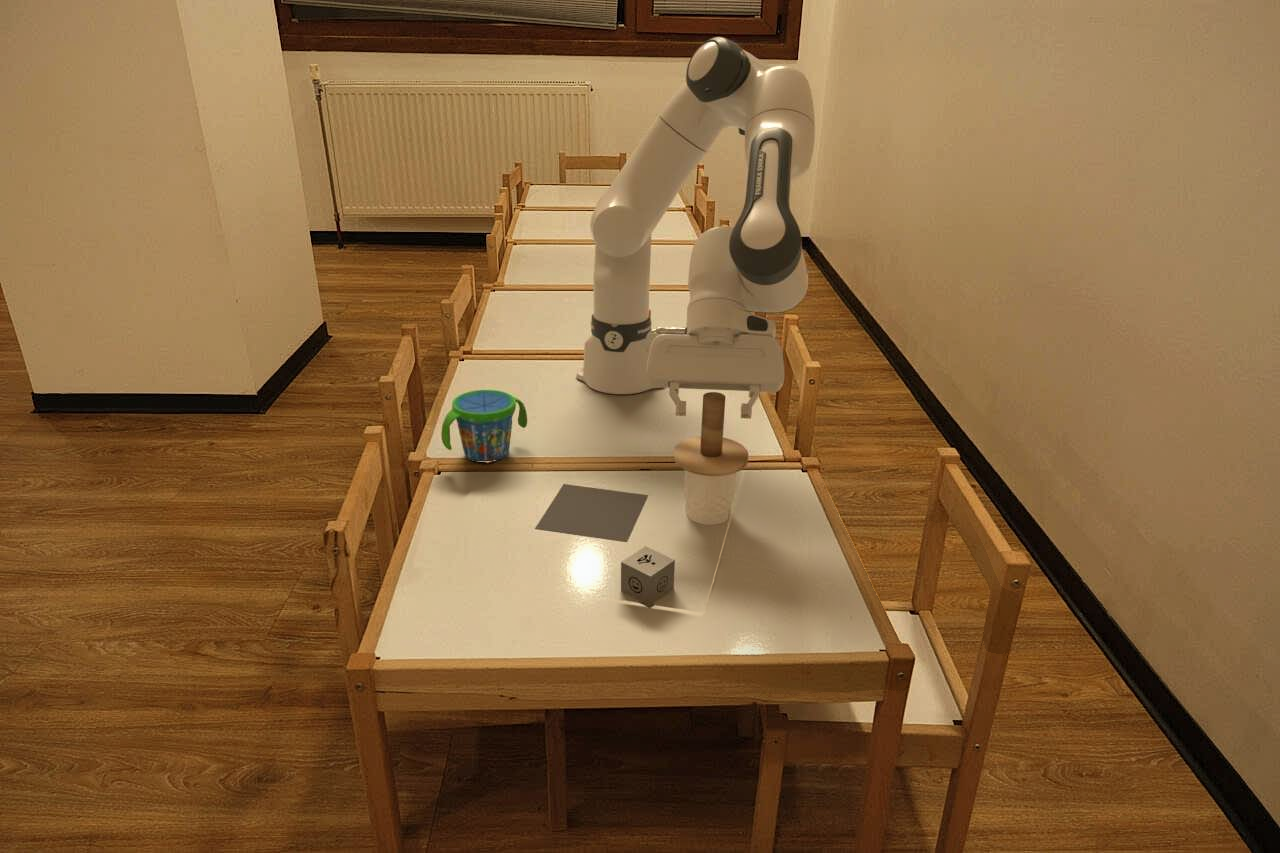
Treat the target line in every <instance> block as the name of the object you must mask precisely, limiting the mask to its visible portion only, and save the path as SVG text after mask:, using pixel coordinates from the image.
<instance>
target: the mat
mask: <svg viewBox="0 0 1280 853" xmlns="http://www.w3.org/2000/svg"><path fill="white" fill-rule="evenodd" d="M648 497H649V495H648V494H643V493H642V494H641V493H635V492H634V493H633V492H627V491H619V490H612V489H605V488H604V489H603V488H597V487H590V486H581V485H575V484H574V485H573V484H568V483H563V484H562V486H561V487H560V489H559V491H558V492H557V494H556V495H555V497H554V498H553V499H552V501H551V503H550V504H549V506H548V507H547V509H546V511H545V512H544V514H543V516H542V517H541V518H540V520H539V521H538V523H537V525H536V526H535V528H534V529H535V530H540V531H546V532H547V531H548V532H555V533H562V534H568V535H576V536H582V537H588V538H589V537H590V538H596V539H603V540H609V541H617V542H623V543H628V541H629V538H630V536H631V534H632V532H633V530H634V528H635V525H636V523H637V521H638V518H639V516H640V514H641V512H642V510H643V508H644V505H645V503H646V501H647V499H648Z"/></svg>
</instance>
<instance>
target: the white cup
mask: <svg viewBox="0 0 1280 853" xmlns="http://www.w3.org/2000/svg"><path fill="white" fill-rule="evenodd" d="M736 476H737V472H736V473H734V474H730V475H724V476H705V475H699V474H695V473H691V472H689V471H686V470H684V500H685V514H686V517H687V519H689V520H691V521H692V522H694V523H698V524H701V525H706V526H707V525H709V526H713V525H719V524H722V523H724V522H726V521H728V519H729V517H730V515H731V510H732V503H733V499H734V492H735V491H734V490H735V484H736Z"/></svg>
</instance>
